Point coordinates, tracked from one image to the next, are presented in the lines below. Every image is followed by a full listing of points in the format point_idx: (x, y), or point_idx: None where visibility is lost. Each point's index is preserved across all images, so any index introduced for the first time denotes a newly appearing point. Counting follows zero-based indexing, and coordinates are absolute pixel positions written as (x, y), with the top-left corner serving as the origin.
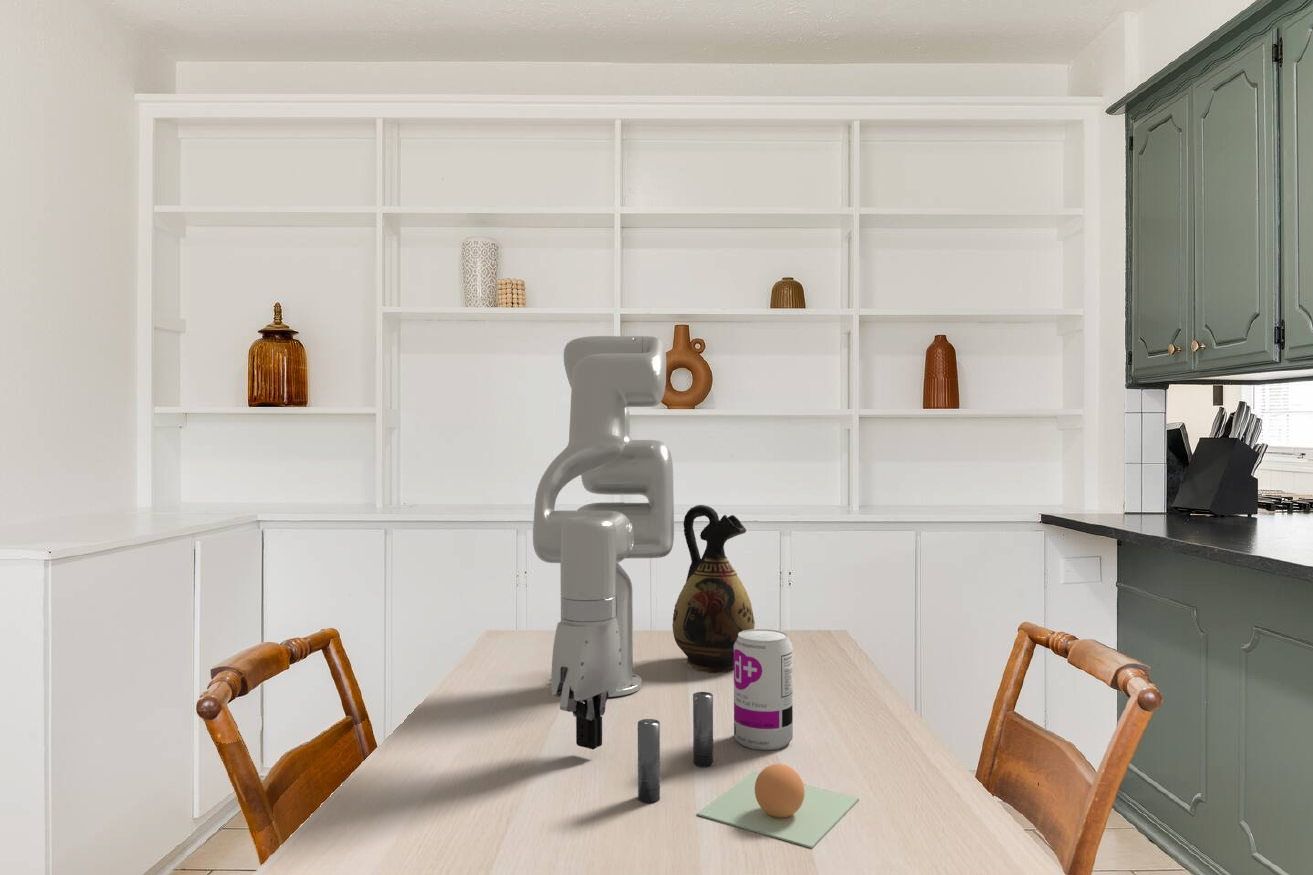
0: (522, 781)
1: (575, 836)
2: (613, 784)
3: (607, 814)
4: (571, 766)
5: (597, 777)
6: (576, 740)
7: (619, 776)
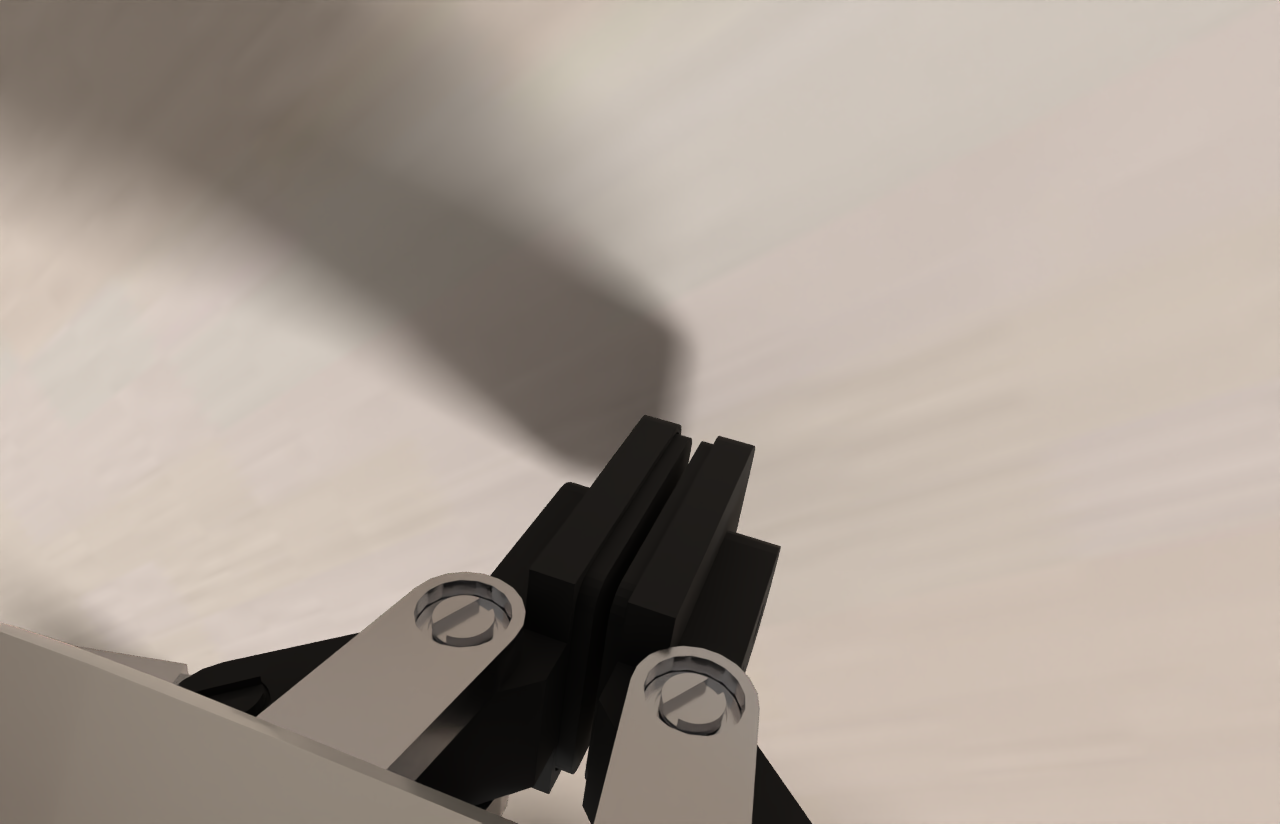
0: (150, 204)
1: None
2: None
3: None
4: (496, 409)
5: None
6: (635, 428)
7: None
